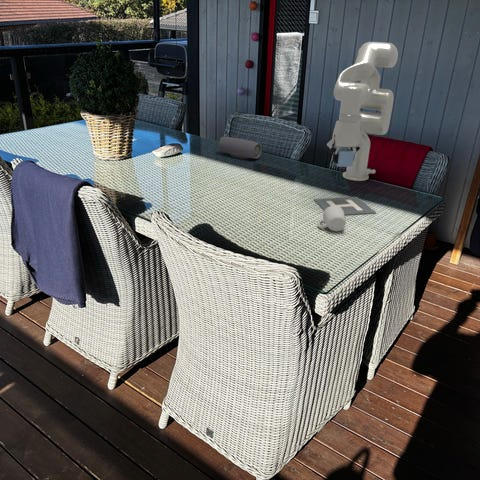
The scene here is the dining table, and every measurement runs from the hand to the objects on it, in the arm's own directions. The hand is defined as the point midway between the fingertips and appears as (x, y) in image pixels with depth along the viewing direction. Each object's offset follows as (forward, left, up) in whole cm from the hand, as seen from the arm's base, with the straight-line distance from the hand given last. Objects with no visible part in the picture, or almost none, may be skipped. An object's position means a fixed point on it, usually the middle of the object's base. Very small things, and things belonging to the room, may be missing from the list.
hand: (343, 162), depth 197 cm
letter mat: (-1, +4, -18) cm, 18 cm away
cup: (+14, +28, -15) cm, 35 cm away
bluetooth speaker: (+26, -74, -18) cm, 81 cm away
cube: (0, 0, -1) cm, 1 cm away
